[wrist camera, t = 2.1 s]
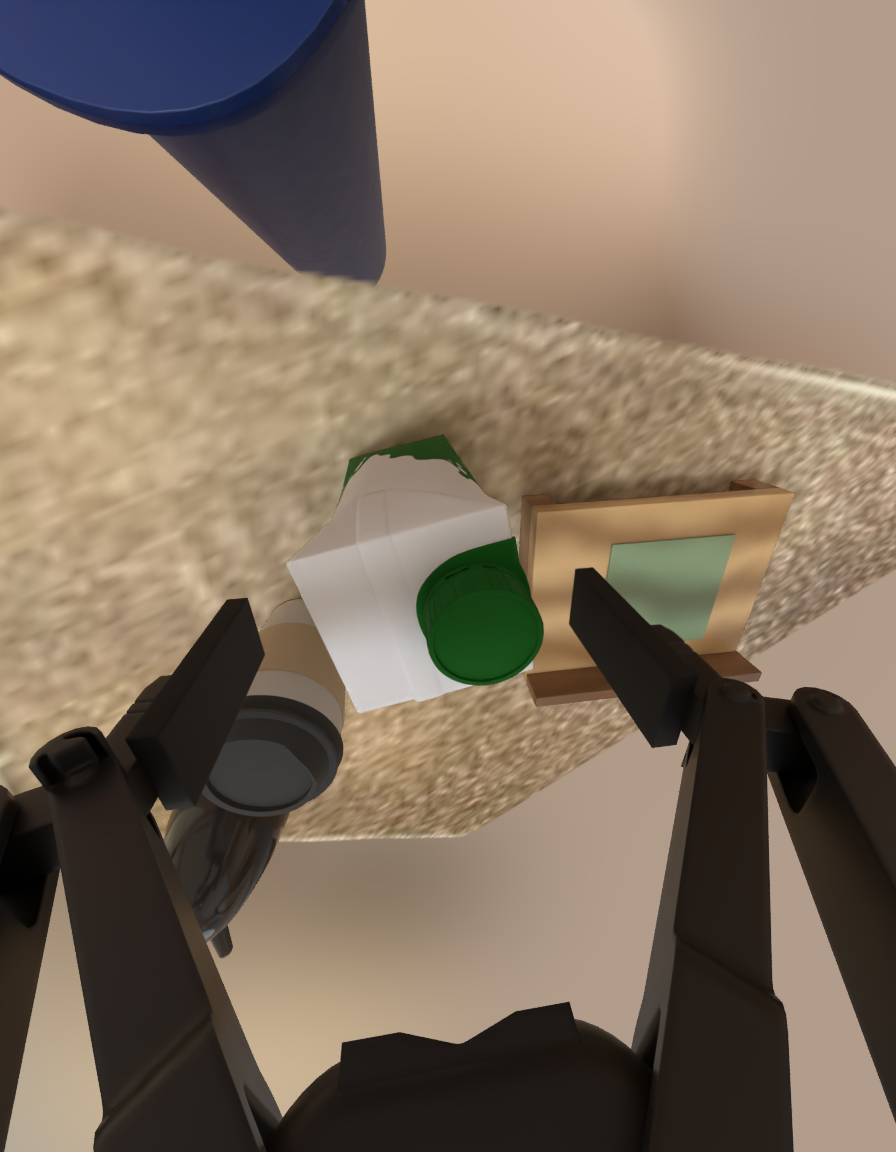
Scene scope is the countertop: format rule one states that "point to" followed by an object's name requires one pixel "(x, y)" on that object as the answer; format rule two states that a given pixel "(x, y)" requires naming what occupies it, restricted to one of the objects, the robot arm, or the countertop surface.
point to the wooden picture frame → (650, 574)
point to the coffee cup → (283, 723)
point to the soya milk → (417, 580)
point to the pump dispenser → (220, 862)
